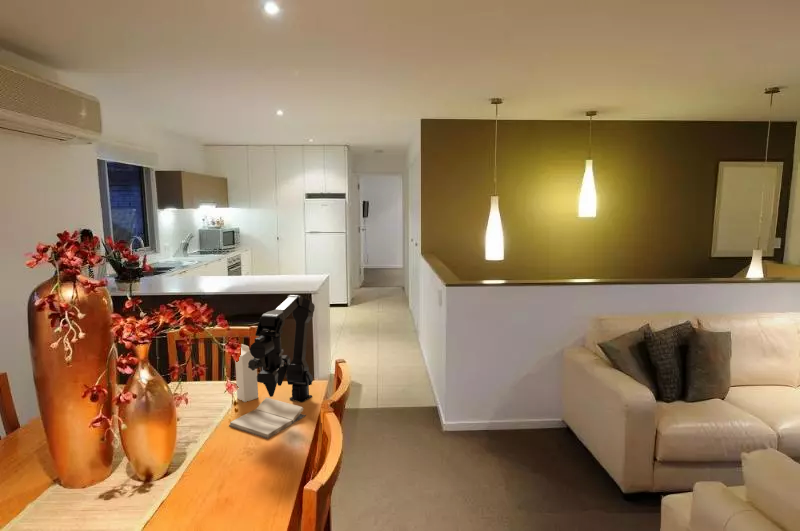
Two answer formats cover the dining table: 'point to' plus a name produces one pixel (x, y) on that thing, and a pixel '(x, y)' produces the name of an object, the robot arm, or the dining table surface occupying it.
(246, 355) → the milk
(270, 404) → the loose plank
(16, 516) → the dining table surface
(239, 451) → the dining table surface
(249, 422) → the laid planks
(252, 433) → the underlay mat
